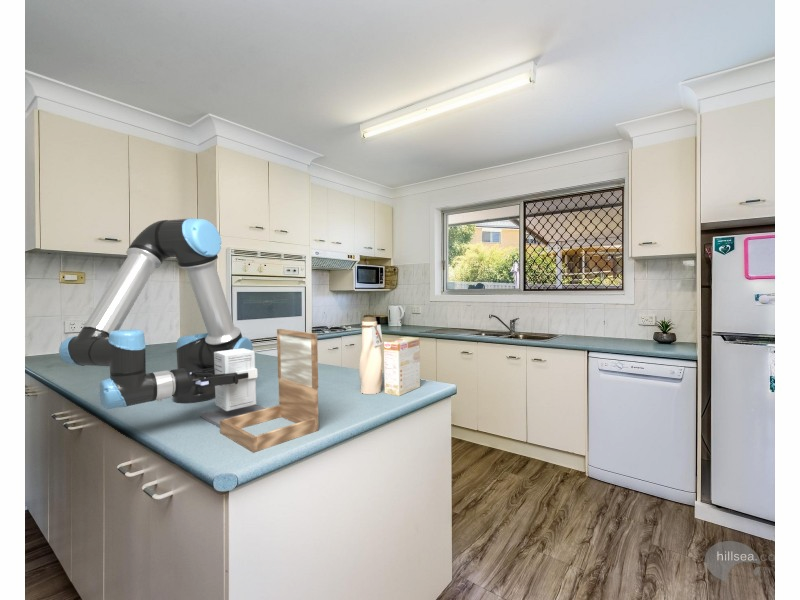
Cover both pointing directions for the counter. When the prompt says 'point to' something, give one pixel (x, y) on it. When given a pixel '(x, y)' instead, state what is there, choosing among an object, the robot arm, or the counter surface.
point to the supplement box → (245, 389)
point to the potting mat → (227, 413)
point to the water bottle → (371, 357)
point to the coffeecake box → (401, 365)
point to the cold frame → (285, 395)
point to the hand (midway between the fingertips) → (249, 370)
